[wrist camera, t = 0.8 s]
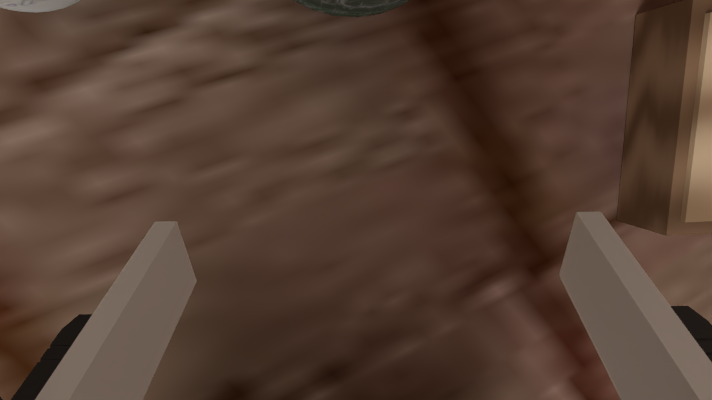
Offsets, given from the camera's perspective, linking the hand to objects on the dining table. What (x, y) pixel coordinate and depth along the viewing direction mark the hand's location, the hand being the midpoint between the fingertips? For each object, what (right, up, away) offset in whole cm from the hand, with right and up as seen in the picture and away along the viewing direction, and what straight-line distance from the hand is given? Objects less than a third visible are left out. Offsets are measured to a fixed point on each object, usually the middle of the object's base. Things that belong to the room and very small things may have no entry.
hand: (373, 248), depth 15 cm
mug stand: (+29, +8, +21) cm, 37 cm away
